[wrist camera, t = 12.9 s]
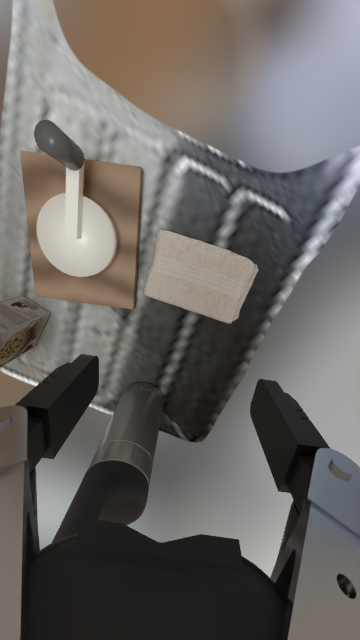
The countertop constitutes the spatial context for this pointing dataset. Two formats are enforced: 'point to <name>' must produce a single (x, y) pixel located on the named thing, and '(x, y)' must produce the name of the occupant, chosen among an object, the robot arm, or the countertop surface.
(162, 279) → the washcloth
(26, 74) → the countertop surface
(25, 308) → the coffee box
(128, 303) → the dial board
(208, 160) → the countertop surface
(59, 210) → the dial
